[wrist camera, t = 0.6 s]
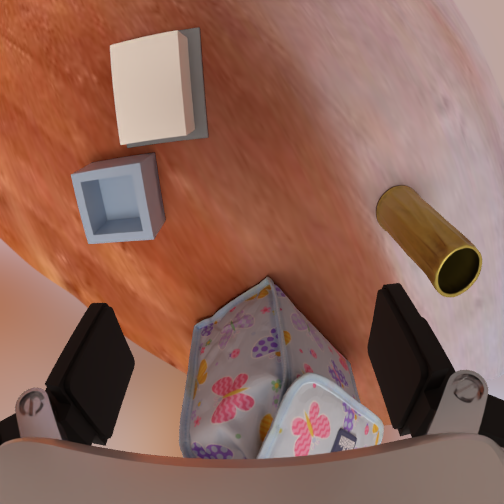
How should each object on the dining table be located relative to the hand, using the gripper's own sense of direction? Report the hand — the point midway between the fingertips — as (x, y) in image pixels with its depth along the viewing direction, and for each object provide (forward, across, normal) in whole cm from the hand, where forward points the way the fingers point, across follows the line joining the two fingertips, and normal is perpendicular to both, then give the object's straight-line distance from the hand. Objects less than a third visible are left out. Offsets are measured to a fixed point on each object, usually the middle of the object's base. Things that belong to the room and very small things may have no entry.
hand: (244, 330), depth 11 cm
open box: (+25, +14, +1) cm, 29 cm away
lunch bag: (+26, -3, +26) cm, 36 cm away
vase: (+25, -17, +6) cm, 31 cm away
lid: (+25, +8, -10) cm, 28 cm away
